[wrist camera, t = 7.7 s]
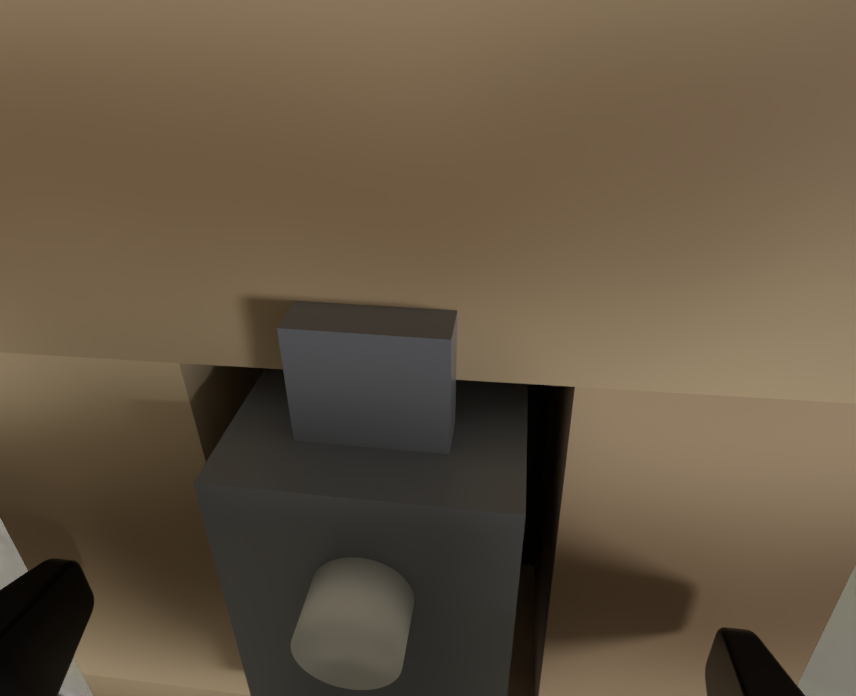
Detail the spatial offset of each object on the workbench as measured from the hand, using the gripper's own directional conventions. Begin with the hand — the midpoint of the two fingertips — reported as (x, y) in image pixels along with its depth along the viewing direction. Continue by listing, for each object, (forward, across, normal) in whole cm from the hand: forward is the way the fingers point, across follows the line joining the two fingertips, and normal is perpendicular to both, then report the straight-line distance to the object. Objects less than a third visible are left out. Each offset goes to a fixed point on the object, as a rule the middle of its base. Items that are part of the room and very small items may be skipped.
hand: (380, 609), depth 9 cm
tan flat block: (+4, 0, 0) cm, 4 cm away
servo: (+4, 0, 0) cm, 4 cm away
